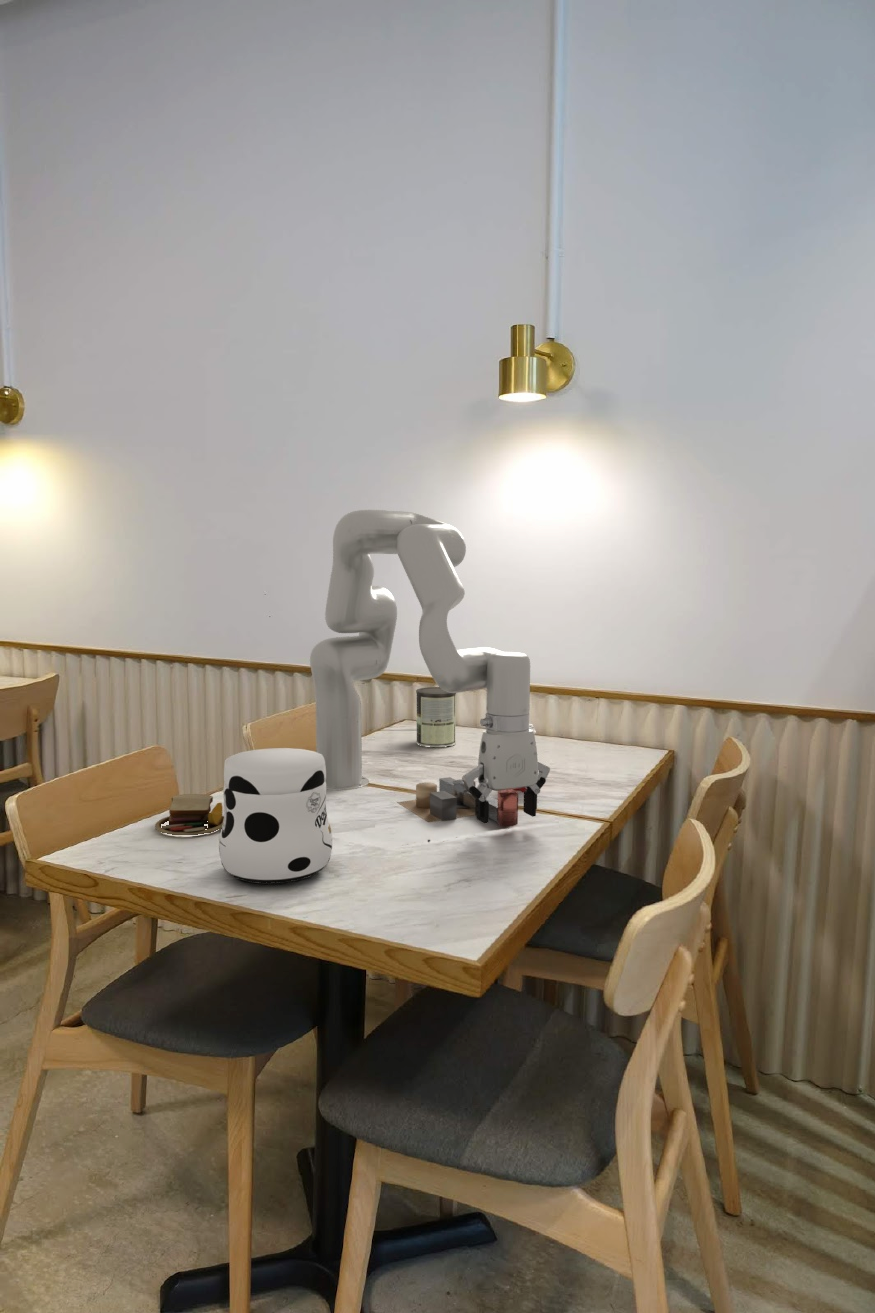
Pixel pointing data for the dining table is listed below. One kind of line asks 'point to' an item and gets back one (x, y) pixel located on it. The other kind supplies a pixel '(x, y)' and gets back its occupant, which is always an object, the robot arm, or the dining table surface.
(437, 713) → the coffee can
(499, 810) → the lever
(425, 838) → the dining table surface
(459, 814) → the base
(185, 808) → the toy sandwich meal
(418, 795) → the cylinder
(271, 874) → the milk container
